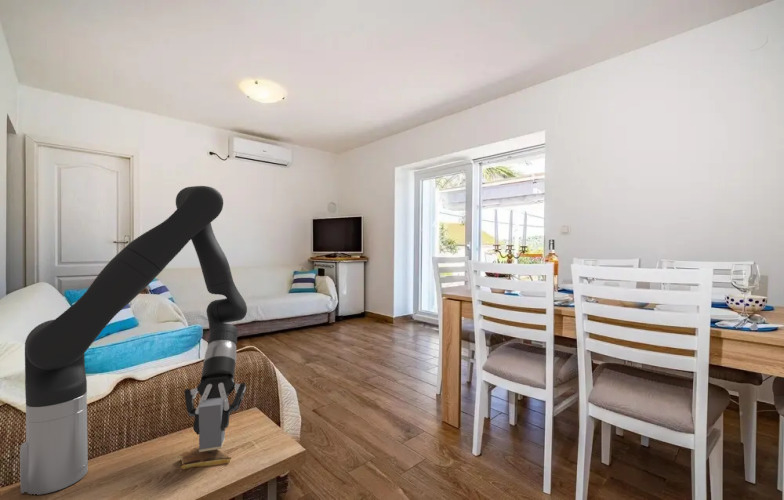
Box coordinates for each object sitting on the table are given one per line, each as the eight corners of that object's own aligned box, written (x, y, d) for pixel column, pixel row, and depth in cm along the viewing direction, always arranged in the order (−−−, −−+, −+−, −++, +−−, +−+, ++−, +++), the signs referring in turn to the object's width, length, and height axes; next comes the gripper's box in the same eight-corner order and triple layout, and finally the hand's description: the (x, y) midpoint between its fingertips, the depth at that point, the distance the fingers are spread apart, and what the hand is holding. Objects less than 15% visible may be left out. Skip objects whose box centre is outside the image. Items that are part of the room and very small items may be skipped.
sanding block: (199, 452, 79) (198, 407, 79) (203, 441, 83) (203, 399, 83) (221, 448, 80) (220, 404, 80) (225, 438, 84) (224, 396, 84)
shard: (231, 464, 79) (231, 456, 79) (196, 483, 72) (196, 474, 72) (207, 449, 85) (206, 441, 85) (172, 465, 79) (172, 457, 79)
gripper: (186, 357, 87) (170, 430, 75) (248, 352, 91) (242, 420, 79) (192, 372, 92) (178, 442, 80) (250, 366, 96) (246, 432, 84)
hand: (210, 431), depth 80 cm, fingers closed on sanding block, 4 cm apart
